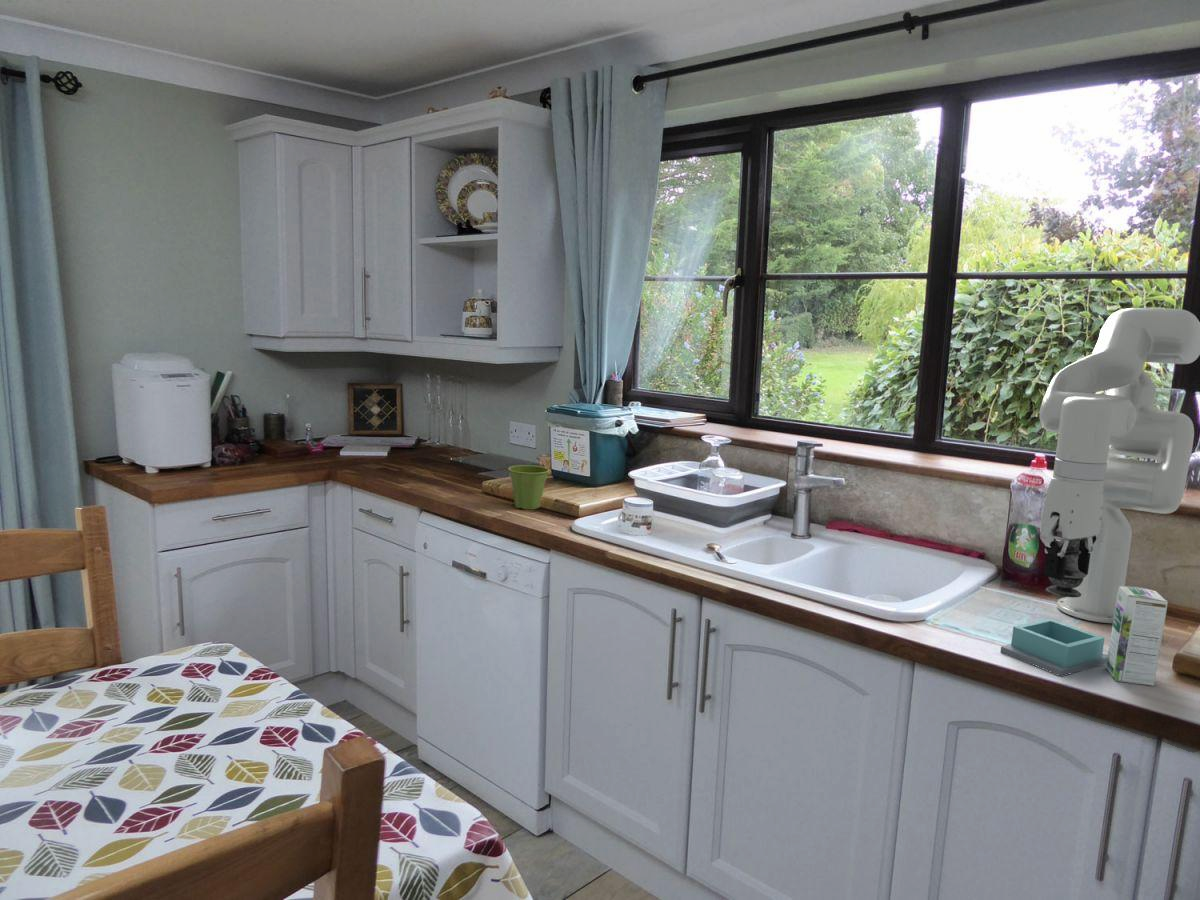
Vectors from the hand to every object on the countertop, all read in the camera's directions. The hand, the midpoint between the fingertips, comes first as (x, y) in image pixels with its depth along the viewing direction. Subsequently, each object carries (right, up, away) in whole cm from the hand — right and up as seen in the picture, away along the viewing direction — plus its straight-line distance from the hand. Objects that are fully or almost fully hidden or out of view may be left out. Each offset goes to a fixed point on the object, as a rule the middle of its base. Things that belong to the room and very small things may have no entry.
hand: (1065, 574), depth 142 cm
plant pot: (-100, +4, +99) cm, 141 cm away
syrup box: (+8, -16, -5) cm, 19 cm away
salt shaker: (0, -3, +1) cm, 3 cm away
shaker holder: (-1, -15, +2) cm, 15 cm away
